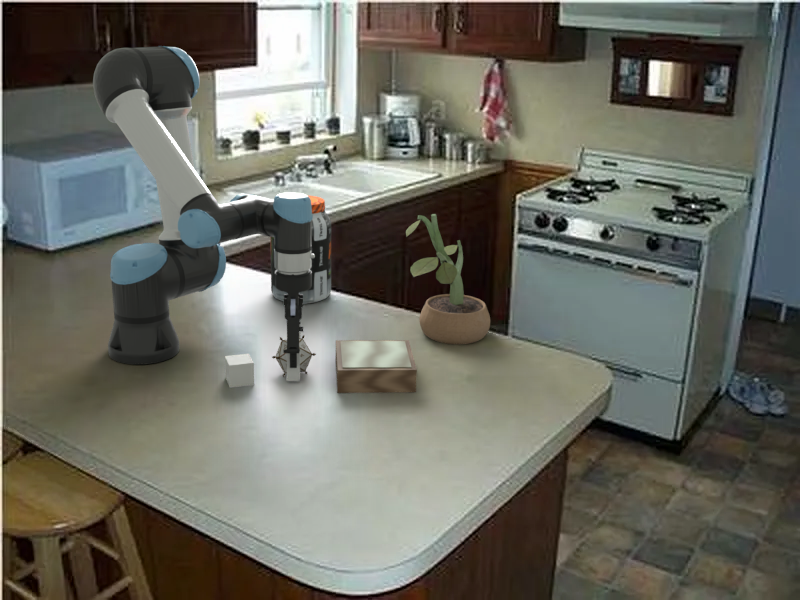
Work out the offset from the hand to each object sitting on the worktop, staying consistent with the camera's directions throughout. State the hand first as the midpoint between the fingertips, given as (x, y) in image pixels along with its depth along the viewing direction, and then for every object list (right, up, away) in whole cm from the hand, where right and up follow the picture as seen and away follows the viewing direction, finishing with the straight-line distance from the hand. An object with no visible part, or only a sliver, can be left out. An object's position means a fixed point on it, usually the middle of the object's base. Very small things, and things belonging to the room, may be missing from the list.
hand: (293, 370), depth 191 cm
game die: (0, -1, 0) cm, 1 cm away
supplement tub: (-4, +16, +47) cm, 50 cm away
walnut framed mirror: (+17, -1, 0) cm, 17 cm away
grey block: (-11, -2, -5) cm, 12 cm away
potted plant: (+33, +6, +24) cm, 41 cm away
